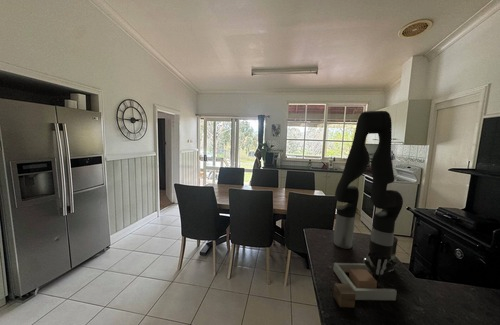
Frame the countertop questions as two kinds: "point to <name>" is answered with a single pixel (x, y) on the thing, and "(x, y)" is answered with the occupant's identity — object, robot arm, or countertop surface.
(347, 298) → the walnut block
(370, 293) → the tray
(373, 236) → the robot arm
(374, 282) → the brown rectangular block
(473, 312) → the countertop surface
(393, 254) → the coffee can
